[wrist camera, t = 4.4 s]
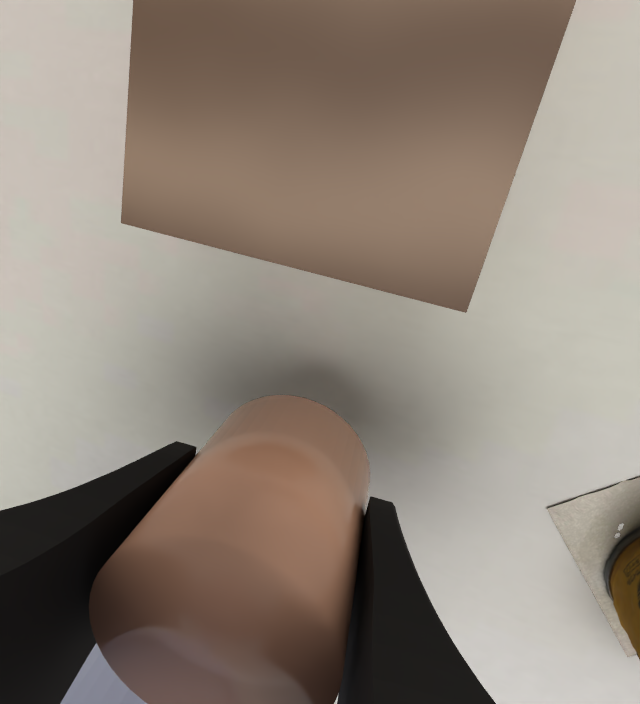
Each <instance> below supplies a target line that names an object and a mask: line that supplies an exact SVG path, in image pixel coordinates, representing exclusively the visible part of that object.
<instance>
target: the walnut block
mask: <svg viewBox="0 0 640 704" xmlns="http://www.w3.org/2000/svg"><path fill="white" fill-rule="evenodd" d="M575 2H576V0H133V16H132V34H131V52H130V70H129V88H128V106H127V124H126V142H125V160H124V178H123V196H122V214H121V223H123V224H127V225H131V226H135V227H138V228H142V229H146V230H150V231H154V232H158V233H162V234H165V235H169V236H173V237H177V238H181V239H185V240H188V241H192V242H196V243H200V244H204V245H208V246H212V247H215V248H219V249H223V250H227V251H231V252H235V253H238V254H242V255H246V256H250V257H254V258H258V259H262V260H265V261H269V262H273V263H277V264H281V265H285V266H289V267H292V268H296V269H300V270H304V271H308V272H312V273H315V274H319V275H323V276H327V277H331V278H335V279H339V280H342V281H346V282H350V283H354V284H358V285H362V286H365V287H369V288H373V289H377V290H381V291H385V292H389V293H392V294H396V295H400V296H404V297H408V298H412V299H415V300H419V301H423V302H427V303H431V304H435V305H439V306H442V307H446V308H450V309H454V310H458V311H462V312H465V313H466V312H467V309H468V306H469V303H470V301H471V298H472V295H473V292H474V289H475V286H476V283H477V281H478V278H479V275H480V272H481V269H482V266H483V264H484V261H485V258H486V255H487V252H488V249H489V247H490V244H491V241H492V238H493V235H494V232H495V229H496V227H497V224H498V221H499V218H500V215H501V212H502V210H503V207H504V204H505V201H506V198H507V195H508V193H509V190H510V187H511V184H512V181H513V178H514V176H515V173H516V170H517V167H518V164H519V161H520V158H521V156H522V153H523V150H524V147H525V144H526V141H527V139H528V136H529V133H530V130H531V127H532V124H533V122H534V119H535V116H536V113H537V110H538V107H539V104H540V102H541V99H542V96H543V93H544V90H545V87H546V85H547V82H548V79H549V76H550V73H551V70H552V68H553V65H554V62H555V59H556V56H557V53H558V51H559V48H560V45H561V42H562V39H563V36H564V33H565V31H566V28H567V25H568V22H569V19H570V16H571V14H572V11H573V8H574V5H575Z"/></svg>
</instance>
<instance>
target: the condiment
mask: <svg viewBox="0 0 640 704" xmlns="http://www.w3.org/2000/svg"><path fill="white" fill-rule="evenodd" d="M547 510H548V512H549V514H550V515H551V517H552V519H553V521H554V523H555V525H556V527H557V528H558V530H559V532H560V534H561V536H562V538H563V539H564V541H565V543H566V545H567V547H568V549H569V550H570V552H571V554H572V556H573V558H574V560H575V562H576V563H577V565H578V567H579V569H580V571H581V572H582V574H583V576H584V578H585V580H586V582H587V583H588V585H589V587H590V589H591V591H592V593H593V594H594V596H595V598H596V600H597V602H598V604H599V605H600V607H601V609H602V611H603V613H604V615H605V616H606V618H607V620H608V622H609V624H610V626H611V627H612V629H613V631H614V633H615V635H616V637H617V639H618V640H619V642H620V644H621V646H622V648H623V650H624V652H625V654H626V655H627V657H631V656H634V655H637V656H638V657H639V659H640V477H639V478H636V479H633V480H626V481H621V482H620V483H619V484H617V485H614V486H612V487H610V488H607V489H605V490H601V491H599V492H595V493H591V494H587V495H584V496H580V497H578V498H576V499H574V500H572V501H569V502H566V503H563V504H560V505H557V506H554V507H551V508H547ZM621 523H623V524H624V526H623V529H622V530H620V531H619V530H617V529H618V526H619V524H621ZM618 532H619V533H620V534H621V535H620V536H619V537H618V538H614V536H615V534H616V533H618Z"/></svg>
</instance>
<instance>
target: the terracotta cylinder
mask: <svg viewBox="0 0 640 704" xmlns="http://www.w3.org/2000/svg"><path fill="white" fill-rule="evenodd" d="M369 483H370V467H369V461H368V457H367V453H366V451H365V449H364V446H363V444H362V442H361V440H360V439H359V437H358V435H357V434H356V433H355V431H354V430H353V429H352V427H351V426H350V425H349V424H348V423H347V422H346V421H345V420H344V419H343V418H342V417H340V416H339V415H338V414H336V413H335V412H334V411H332V410H331V409H329V408H327V407H326V406H324V405H322V404H319V403H317V402H315V401H312V400H309V399H306V398H303V397H298V396H292V395H271V396H265V397H260V398H257V399H254V400H252V401H250V402H247V403H245V404H243V405H242V406H240V407H239V408H238V409H236V410H235V411H234V412H233V413H232V414H231V415H230V416H229V417H228V418H227V419H226V420H225V421H224V423H223V424H222V425H221V426H220V427H219V429H218V430H217V431H216V432H215V433H214V435H213V436H212V437H211V438H210V439H209V440H208V442H207V443H206V444H205V445H204V446H203V448H202V449H201V450H200V451H199V452H198V454H197V455H196V456H195V457H194V458H193V460H192V461H191V462H190V463H189V464H188V465H187V467H186V468H185V469H184V470H183V471H182V473H181V474H180V475H179V476H178V477H177V479H176V480H175V481H174V482H173V483H172V484H171V486H170V487H169V488H168V489H167V490H166V492H165V493H164V494H163V495H162V496H161V498H160V499H159V500H158V501H157V502H156V504H155V505H154V506H153V507H152V508H151V509H150V511H149V512H148V513H147V514H146V515H145V517H144V518H143V519H142V520H141V521H140V523H139V524H138V525H137V526H136V527H135V529H134V530H133V531H132V532H131V533H130V534H129V536H128V537H127V538H126V539H125V540H124V542H123V543H122V544H121V545H120V546H119V548H118V549H117V550H116V551H115V552H114V554H113V555H112V556H111V557H110V558H109V559H108V561H107V562H106V563H105V564H104V566H103V567H102V568H101V570H100V571H99V572H98V574H97V576H96V578H95V580H94V582H93V585H92V589H91V592H90V599H89V617H90V622H91V627H92V631H93V634H94V637H95V640H96V642H97V645H98V647H99V649H100V651H101V653H102V655H103V656H104V658H105V659H106V661H107V662H108V664H109V666H110V667H111V668H112V670H113V671H114V672H115V673H116V675H117V676H118V677H119V678H120V680H121V681H122V682H123V683H124V684H125V685H126V686H127V687H128V688H129V689H130V690H131V691H132V692H134V693H135V694H136V695H137V696H138V697H139V698H141V699H142V700H143V701H144V702H146V703H147V704H334V702H335V700H336V698H337V695H338V693H339V691H340V686H341V682H342V676H343V669H344V662H345V655H346V648H347V641H348V633H349V626H350V619H351V612H352V605H353V598H354V591H355V583H356V576H357V569H358V562H359V555H360V548H361V540H362V533H363V526H364V519H365V512H366V505H367V498H368V490H369Z"/></svg>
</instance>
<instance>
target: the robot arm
mask: <svg viewBox="0 0 640 704" xmlns="http://www.w3.org/2000/svg"><path fill="white" fill-rule="evenodd" d="M195 455H196V447H195V446H191V445H188V444H184V443H181V442H177V441H176V442H174V443H172V444H170V445H167V446H165V447H163V448H161V449H159V450H157V451H155V452H153V453H151V454H149V455H147V456H145V457H143V458H141V459H139V460H137V461H135V462H132V463H130V464H128V465H126V466H124V467H122V468H120V469H118V470H115V471H113V472H111V473H109V474H106V475H104V476H101V477H99V478H97V479H94V480H92V481H90V482H87V483H85V484H83V485H80V486H78V487H75V488H72V489H70V490H67V491H64V492H61V493H59V494H56V495H53V496H50V497H47V498H44V499H41V500H38V501H34V502H31V503H28V504H24V505H20V506H16V507H13V508H9V509H5V510H1V511H0V704H147V703H146V702H144V701H143V700H142V699H141V698H139V697H138V696H137V695H136V694H135V693H134V692H132V691H131V690H130V689H129V688H128V687H127V686H126V685H125V684H124V683H123V682H122V681H121V680H120V678H119V677H118V676H117V675H116V673H115V672H114V671H113V670H112V668H111V667H110V666H109V664H108V662H107V661H106V659H105V658H104V656H103V655H102V653H101V651H100V649H99V647H98V645H97V642H96V640H95V637H94V634H93V631H92V627H91V622H90V617H89V599H90V592H91V589H92V585H93V582H94V580H95V578H96V576H97V574H98V572H99V571H100V570H101V568H102V567H103V566H104V564H105V563H106V562H107V561H108V559H109V558H110V557H111V556H112V555H113V554H114V552H115V551H116V550H117V549H118V548H119V546H120V545H121V544H122V543H123V542H124V540H125V539H126V538H127V537H128V536H129V534H130V533H131V532H132V531H133V530H134V529H135V527H136V526H137V525H138V524H139V523H140V521H141V520H142V519H143V518H144V517H145V515H146V514H147V513H148V512H149V511H150V509H151V508H152V507H153V506H154V505H155V504H156V502H157V501H158V500H159V499H160V498H161V496H162V495H163V494H164V493H165V492H166V490H167V489H168V488H169V487H170V486H171V484H172V483H173V482H174V481H175V480H176V479H177V477H178V476H179V475H180V474H181V473H182V471H183V470H184V469H185V468H186V467H187V465H188V464H189V463H190V462H191V461H192V460H193V458H194V457H195ZM337 704H496V703H495V702H494V701H493V699H492V698H491V697H490V695H489V694H488V693H487V691H486V690H485V689H484V687H483V686H482V685H481V683H480V682H479V680H478V679H477V677H476V676H475V675H474V673H473V672H472V670H471V669H470V667H469V666H468V664H467V663H466V661H465V660H464V658H463V657H462V655H461V654H460V652H459V651H458V649H457V648H456V646H455V644H454V643H453V641H452V639H451V638H450V636H449V634H448V633H447V631H446V629H445V627H444V626H443V624H442V622H441V620H440V619H439V617H438V615H437V613H436V611H435V609H434V607H433V605H432V603H431V601H430V599H429V597H428V595H427V593H426V591H425V589H424V587H423V584H422V582H421V580H420V578H419V576H418V573H417V571H416V569H415V566H414V563H413V561H412V558H411V556H410V553H409V551H408V548H407V545H406V542H405V540H404V537H403V534H402V531H401V527H400V524H399V521H398V517H397V513H396V509H395V506H394V504H393V503H392V502H389V501H385V500H382V499H378V498H375V497H371V496H370V500H369V503H368V507H367V510H366V514H365V519H364V526H363V533H362V540H361V548H360V555H359V562H358V569H357V576H356V583H355V591H354V598H353V605H352V612H351V619H350V626H349V633H348V641H347V648H346V655H345V662H344V669H343V676H342V682H341V686H340V691H339V695H338V702H337Z"/></svg>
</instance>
